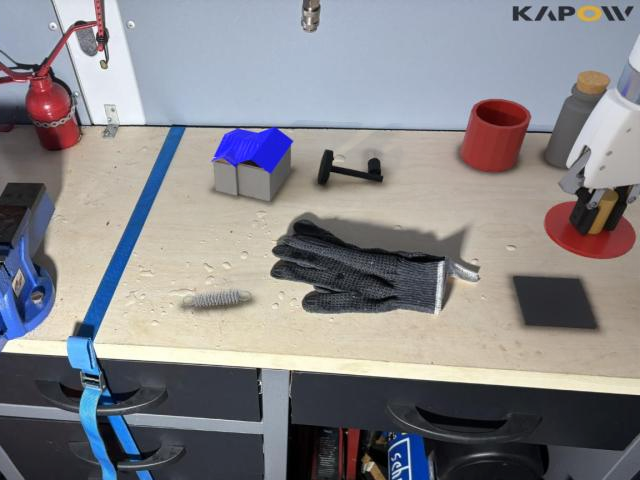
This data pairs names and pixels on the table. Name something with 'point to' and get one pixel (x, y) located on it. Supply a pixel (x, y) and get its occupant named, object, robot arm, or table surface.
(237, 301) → the spring
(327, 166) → the light fixture
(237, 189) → the house
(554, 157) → the bottle
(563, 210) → the tin lid
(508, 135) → the tin
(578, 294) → the mat
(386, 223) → the table surface
